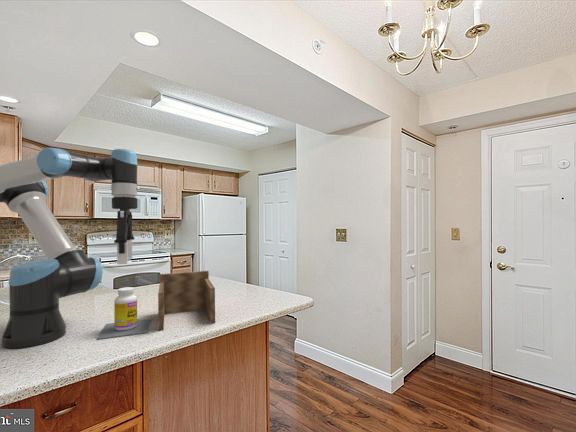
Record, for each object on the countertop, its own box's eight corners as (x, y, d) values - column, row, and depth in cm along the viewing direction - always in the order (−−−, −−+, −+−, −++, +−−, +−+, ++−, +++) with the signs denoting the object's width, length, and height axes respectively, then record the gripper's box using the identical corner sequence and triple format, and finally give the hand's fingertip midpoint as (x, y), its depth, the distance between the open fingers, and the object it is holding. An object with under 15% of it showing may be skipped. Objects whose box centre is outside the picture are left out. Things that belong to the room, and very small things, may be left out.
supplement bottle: (127, 332, 97) (127, 291, 97) (109, 330, 98) (109, 290, 98) (141, 324, 104) (141, 286, 104) (124, 323, 105) (124, 286, 105)
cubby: (158, 330, 99) (158, 284, 99) (160, 313, 117) (159, 274, 117) (215, 323, 106) (214, 279, 106) (208, 307, 124) (208, 270, 124)
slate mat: (96, 340, 92) (97, 338, 92) (106, 325, 105) (106, 323, 105) (148, 333, 97) (148, 331, 97) (150, 319, 110) (150, 318, 110)
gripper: (133, 194, 91) (133, 265, 91) (140, 199, 114) (141, 256, 114) (104, 193, 88) (104, 267, 88) (117, 199, 112) (118, 257, 112)
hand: (125, 261), depth 101 cm, fingers open, 13 cm apart
